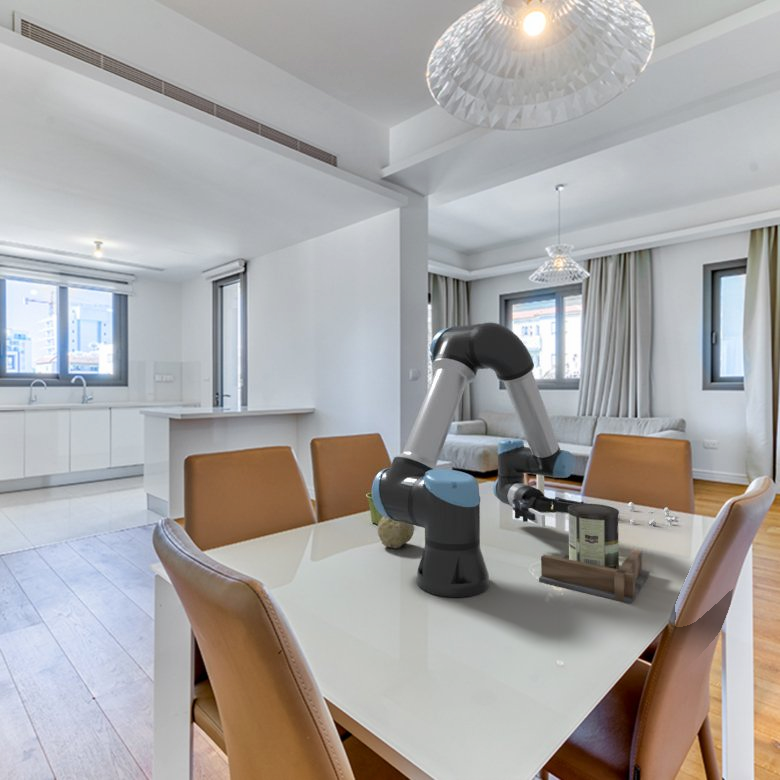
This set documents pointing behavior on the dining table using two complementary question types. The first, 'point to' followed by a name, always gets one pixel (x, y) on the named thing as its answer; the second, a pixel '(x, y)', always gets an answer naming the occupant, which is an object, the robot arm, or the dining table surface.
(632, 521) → the game piece set
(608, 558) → the coffee can
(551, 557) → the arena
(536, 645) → the dining table surface
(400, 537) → the coral
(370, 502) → the plant pot
